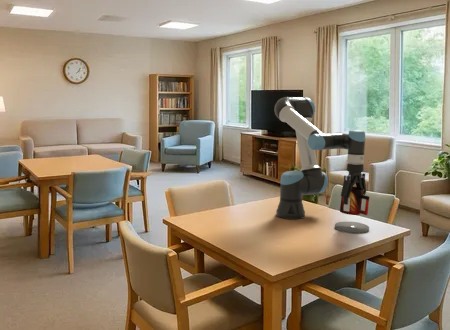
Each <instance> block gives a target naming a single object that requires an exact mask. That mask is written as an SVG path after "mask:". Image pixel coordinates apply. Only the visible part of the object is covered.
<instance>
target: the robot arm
mask: <svg viewBox="0 0 450 330" xmlns="http://www.w3.org/2000/svg"><path fill="white" fill-rule="evenodd" d="M273 111H274V115H275V116H276V118H278V119H279V121H281V122H283V123H287V125H288V126H290V127H291V128H292V130H295V135H296V141H297V147H298V152H299V153H298V154H299V159H300V165H301V168H300V170H289V171H285V172H282V173H281V175H280V181H279V182H280V187H279V189H280V190H279V191H280V192H279V201H278V202H279V203H278V205H277V208H276V212H275V213H276V214H275V215H276V217H278V218H282V219H286V220H287V219H288V220H300V219H304V218H305V217H306V211H305V208H304V204H303V196H309V195H318V194H323V193H324V192H325V191H326V190H327V187H328V184H329V178H328V175H327V174H326V173H325V172H324V171H322V167H321V166H320V165H318V158H317V154H316V151H323V150H337V149H338V150H340V149H341V150H347V160H346V162H347V163H346V171H347V172H348V175H344V176H343V182H342V187H343V188H341V192H340V196H342V197H344V211H348V212H349V208H350V198H349V195H350V193H351V190H352V187H354V185H355V187H357V190H361V189H363V195H365V196H366V194H367V186H366V173H364V169H365V167H364V166H365V165H364V163H365V149H366V148H365V147H366V132H365V131H364V130H361V129H360V130H358V129H351V130H349V131H348V133H343V132H333V133H324V132H322V130H320V129H319V128H318V127H316V126H315V125H313V124H312V123H311V122H312V120H313V117H314V116H315V112H316V106H315V103H314V101H313V100H312V99H311V98H309V97H303V96H297V97H296V96H283V97H281V98H279V99H278V100H277V102H276V103H275V104H274V110H273ZM363 203H364V199H362V205H361V209H363V205H364V204H363Z"/></svg>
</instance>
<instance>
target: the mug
mask: <svg viewBox="0 0 450 330" xmlns="http://www.w3.org/2000/svg"><path fill="white" fill-rule="evenodd" d="M342 188H343V186H342ZM342 188H341V189H342ZM363 190H364V189H361V190H357V187H356V186H353V187H352V190H351V193H350V195H349V198H350V208H349V212H348V211H344V197H342V196H341V195H340V196H341V198H340V207H339V211H340V213H342V214H343V215H344V214H345V215H349V216H350V215H351V216H360V215H363V216H368V214H369V203H370V196H368V195H366V194H365V195H363ZM362 199H363V200H365V206H364V210H363V209H362V208H361V205H362ZM362 206H363V205H362Z"/></svg>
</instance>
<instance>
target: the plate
mask: <svg viewBox="0 0 450 330" xmlns="http://www.w3.org/2000/svg"><path fill="white" fill-rule="evenodd" d="M334 229H335V230H336V231H339V232H342V233H347V234H358V235H359V234H366V233H368V232H369V231H370V226H369V225H367V224H365V223H362V222H356V221H338V222H336V223H335V224H334Z"/></svg>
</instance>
